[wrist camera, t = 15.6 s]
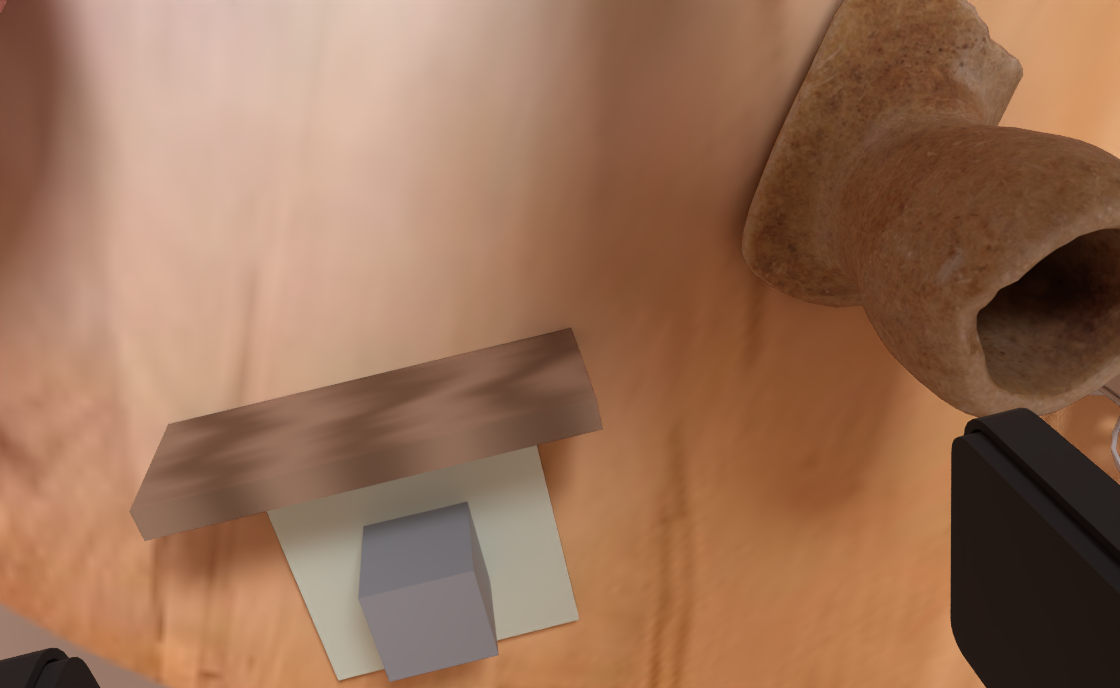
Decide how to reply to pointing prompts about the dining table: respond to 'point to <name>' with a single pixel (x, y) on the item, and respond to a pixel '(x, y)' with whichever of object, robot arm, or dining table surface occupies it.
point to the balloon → (2, 4)
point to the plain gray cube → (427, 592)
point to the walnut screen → (366, 433)
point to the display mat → (486, 484)
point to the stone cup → (943, 212)
